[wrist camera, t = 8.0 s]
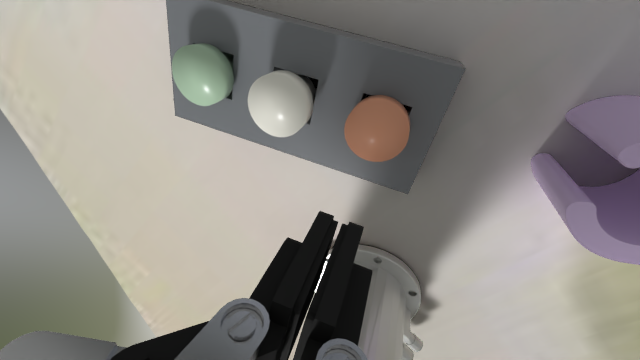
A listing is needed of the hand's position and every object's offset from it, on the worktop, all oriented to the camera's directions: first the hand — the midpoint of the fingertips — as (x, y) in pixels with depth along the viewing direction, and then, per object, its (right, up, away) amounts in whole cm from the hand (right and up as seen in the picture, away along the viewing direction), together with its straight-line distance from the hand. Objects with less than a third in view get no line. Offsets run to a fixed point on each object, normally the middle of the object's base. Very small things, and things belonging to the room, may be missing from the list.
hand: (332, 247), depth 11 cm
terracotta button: (+5, +8, +13) cm, 16 cm away
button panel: (-2, +10, +14) cm, 18 cm away
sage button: (-8, +12, +15) cm, 21 cm away
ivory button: (-2, +10, +13) cm, 16 cm away
